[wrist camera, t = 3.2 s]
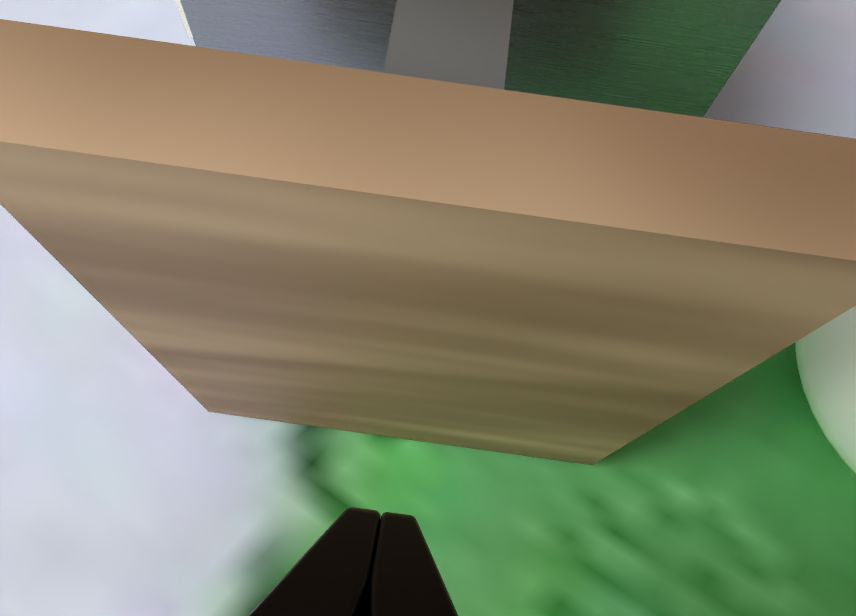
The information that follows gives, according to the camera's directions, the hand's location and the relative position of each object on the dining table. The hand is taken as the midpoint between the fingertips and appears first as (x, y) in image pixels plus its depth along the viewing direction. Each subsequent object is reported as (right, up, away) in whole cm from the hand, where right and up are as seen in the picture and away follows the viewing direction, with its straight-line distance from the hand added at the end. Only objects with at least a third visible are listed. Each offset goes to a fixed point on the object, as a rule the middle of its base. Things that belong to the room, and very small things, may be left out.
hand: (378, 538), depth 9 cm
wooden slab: (-1, +4, +11) cm, 12 cm away
